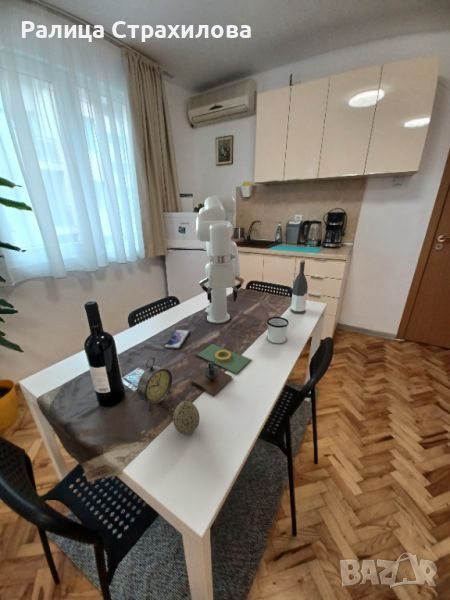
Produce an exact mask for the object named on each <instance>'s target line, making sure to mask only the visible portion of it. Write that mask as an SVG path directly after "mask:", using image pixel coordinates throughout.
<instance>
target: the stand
mask: <svg viewBox="0 0 450 600" xmlns="http://www.w3.org/2000/svg"><path fill="white" fill-rule="evenodd" d="M232 377H233V376H232V375H230V374H228V373H226V372H224V371H222V370H219V369H218V368H217V367H215V364H214V362H213V361H207V368H206V369H204V371H202V372H201V373H199V374H198V375H197V376H196V377H195V378H193V379H192V380H191V384H192V385H194V386H196V387H198V388H199V389H202V390H203V391H205V392H207V393H208V394H209V395H212V396H216V395H217V394H218V393H219V392H220V391H221V390H222V389H223V388H224V387H225V386H226V385H227V384H228V383H229V382H230V381H231V380H232Z"/></svg>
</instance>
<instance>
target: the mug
mask: <svg viewBox="0 0 450 600" xmlns="http://www.w3.org/2000/svg"><path fill="white" fill-rule="evenodd" d="M266 323H267V340H268V341H269V342H271V343H273V344H283V343H285V342H287V341H286V340H287V331H288V326H289V324H290V323H289V319H286V318H285V317H282V316H272V317H271V316H270V317H269V318H267V320H266Z"/></svg>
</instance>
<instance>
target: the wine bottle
mask: <svg viewBox="0 0 450 600" xmlns="http://www.w3.org/2000/svg"><path fill="white" fill-rule="evenodd" d="M305 264H306V259H305V258H300V261H299V272H298V274H297V276H296V277H295V278H294V281H293V284H292V295H291V305H290V306H291V307H290V311H291V312H292V313H293V314H296V315H297V314H298V315H299V314H300V315H301V314H305V313H306V306H307V296H308V287H309V286H308V280H307V278H306V275H305V268H306V267H305V266H306V265H305Z"/></svg>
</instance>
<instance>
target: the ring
mask: <svg viewBox="0 0 450 600" xmlns="http://www.w3.org/2000/svg"><path fill="white" fill-rule="evenodd" d="M227 350H228V349H226V350H219V351H218V352H216V353H215V359H216V360H218V361H220V362H226V361H229V360H230V359H231V352H232V351H231V352H229V351H230V350H229V351H227ZM220 354H226V355H228V356H227V357H224V358H221V357H219V355H220Z"/></svg>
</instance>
